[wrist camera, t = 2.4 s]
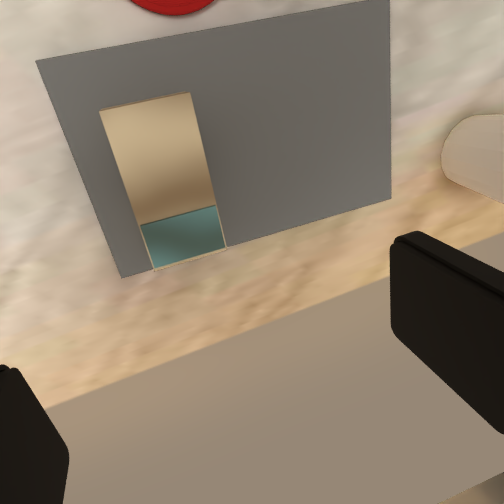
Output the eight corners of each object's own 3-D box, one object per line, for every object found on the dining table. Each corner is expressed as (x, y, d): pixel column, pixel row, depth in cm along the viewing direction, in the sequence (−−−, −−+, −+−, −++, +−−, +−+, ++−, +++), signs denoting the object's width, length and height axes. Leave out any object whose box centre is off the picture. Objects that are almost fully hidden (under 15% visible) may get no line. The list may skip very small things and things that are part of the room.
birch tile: (101, 108, 22) (98, 111, 20) (184, 91, 23) (190, 92, 21) (152, 256, 26) (154, 272, 24) (219, 236, 27) (228, 250, 25)
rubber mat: (37, 61, 21) (34, 60, 20) (384, -2, 25) (389, -4, 24) (121, 274, 27) (121, 278, 26) (386, 196, 31) (391, 198, 30)
